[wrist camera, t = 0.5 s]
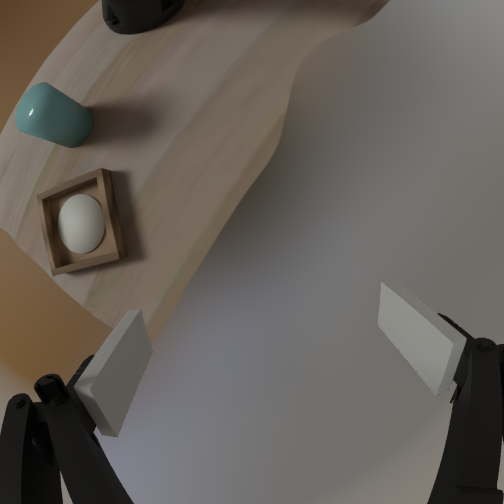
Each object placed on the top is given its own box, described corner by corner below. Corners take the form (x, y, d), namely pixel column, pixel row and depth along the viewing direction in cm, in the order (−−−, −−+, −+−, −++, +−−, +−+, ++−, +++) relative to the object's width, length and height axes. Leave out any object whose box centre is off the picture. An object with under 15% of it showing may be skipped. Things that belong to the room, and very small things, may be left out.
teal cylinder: (59, 117, 35) (17, 97, 23) (92, 101, 35) (53, 73, 23) (60, 153, 36) (15, 140, 24) (94, 138, 36) (52, 118, 24)
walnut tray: (47, 195, 37) (36, 195, 34) (110, 170, 37) (101, 167, 34) (62, 272, 38) (52, 276, 35) (127, 255, 39) (119, 258, 36)
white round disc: (55, 203, 36) (53, 203, 36) (99, 186, 36) (98, 186, 36) (66, 258, 38) (64, 259, 37) (111, 245, 38) (109, 246, 37)
